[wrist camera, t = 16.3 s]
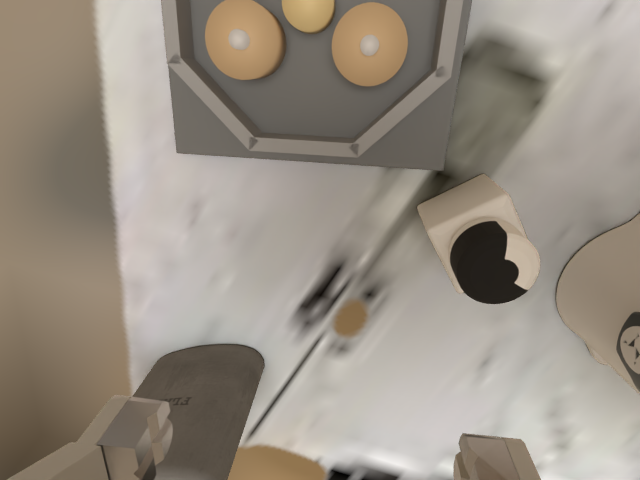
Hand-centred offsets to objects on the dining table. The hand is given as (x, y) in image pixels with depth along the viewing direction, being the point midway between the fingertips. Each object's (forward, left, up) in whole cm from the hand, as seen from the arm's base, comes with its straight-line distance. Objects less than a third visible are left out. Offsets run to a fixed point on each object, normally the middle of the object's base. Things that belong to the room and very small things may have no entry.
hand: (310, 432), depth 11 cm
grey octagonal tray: (+4, -14, -31) cm, 34 cm away
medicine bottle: (-12, +4, -31) cm, 34 cm away
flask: (+16, +26, -31) cm, 44 cm away
